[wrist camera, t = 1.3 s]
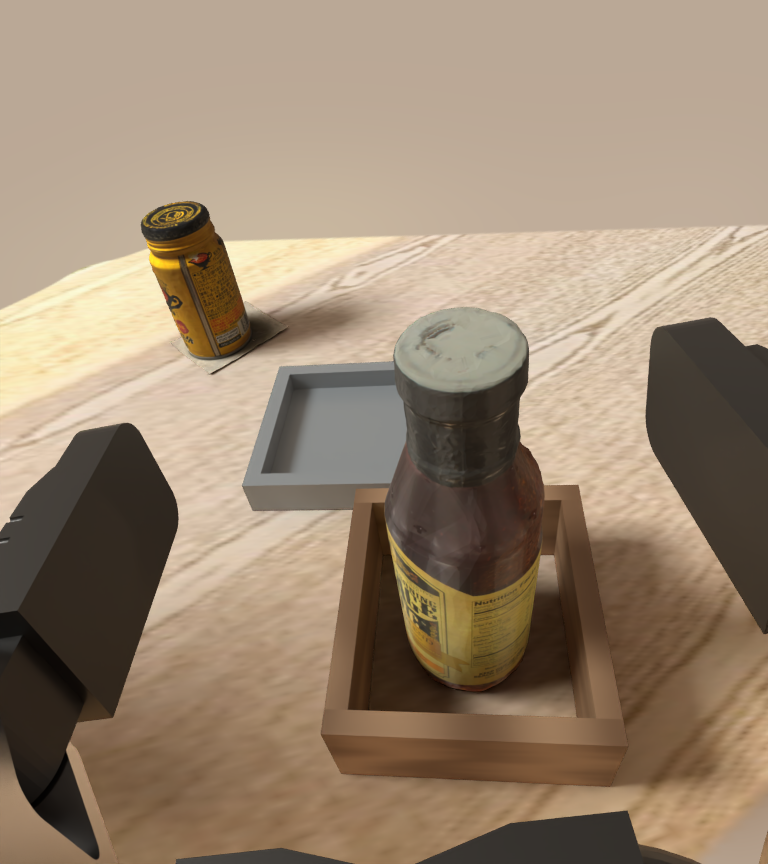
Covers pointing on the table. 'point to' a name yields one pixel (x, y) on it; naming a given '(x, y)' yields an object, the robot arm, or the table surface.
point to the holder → (476, 733)
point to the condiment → (202, 287)
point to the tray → (326, 437)
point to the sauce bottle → (465, 497)
